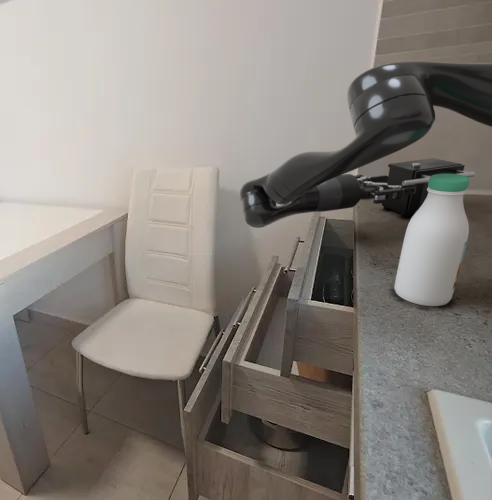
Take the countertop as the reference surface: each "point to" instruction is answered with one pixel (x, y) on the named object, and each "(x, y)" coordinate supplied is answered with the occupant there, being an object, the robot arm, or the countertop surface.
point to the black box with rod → (406, 172)
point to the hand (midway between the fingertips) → (400, 184)
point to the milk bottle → (434, 243)
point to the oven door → (422, 183)
